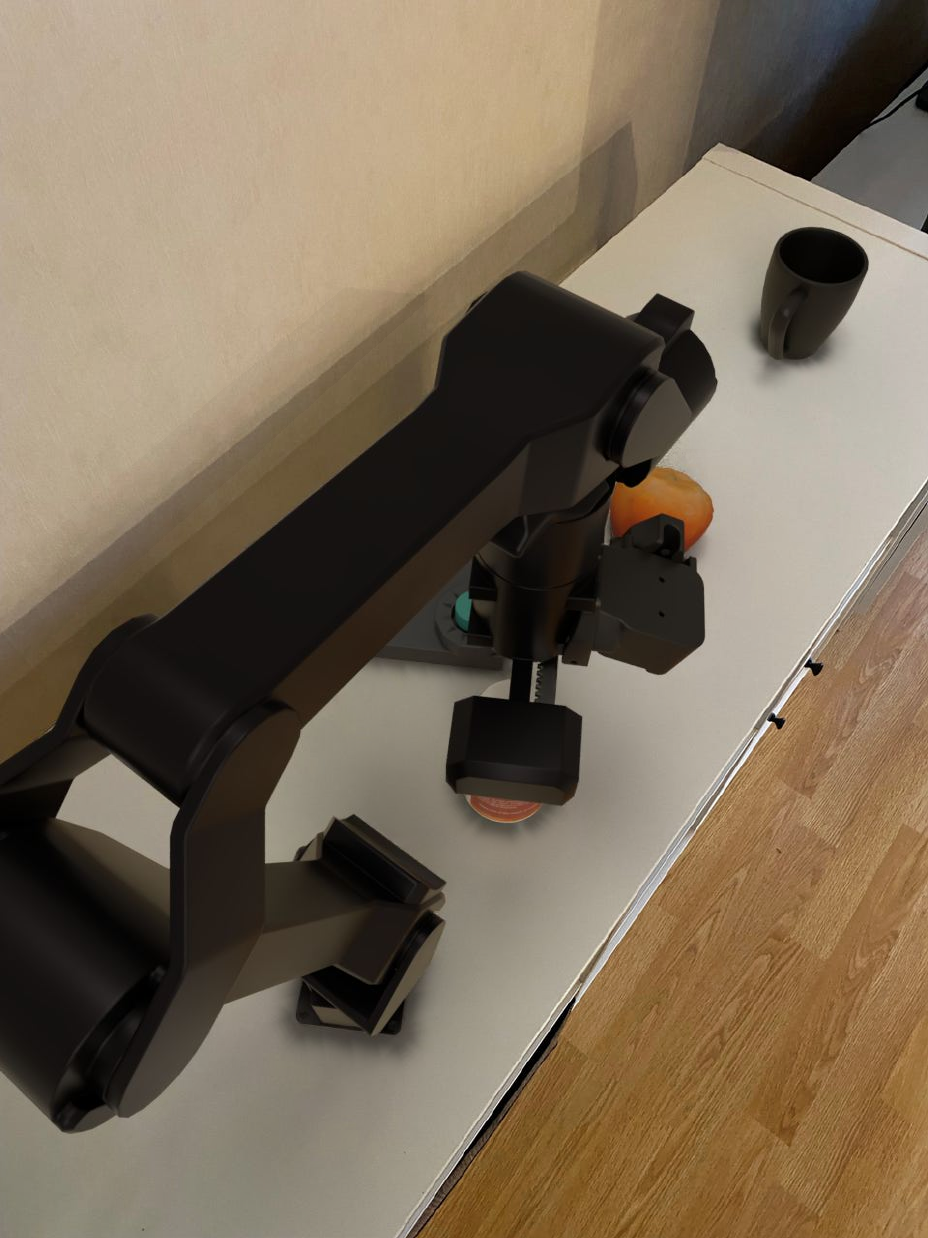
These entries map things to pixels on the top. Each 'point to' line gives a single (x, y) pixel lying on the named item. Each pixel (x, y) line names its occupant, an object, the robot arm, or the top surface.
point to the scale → (441, 632)
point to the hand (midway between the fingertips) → (515, 698)
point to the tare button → (463, 610)
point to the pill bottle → (493, 806)
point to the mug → (809, 289)
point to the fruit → (662, 503)
